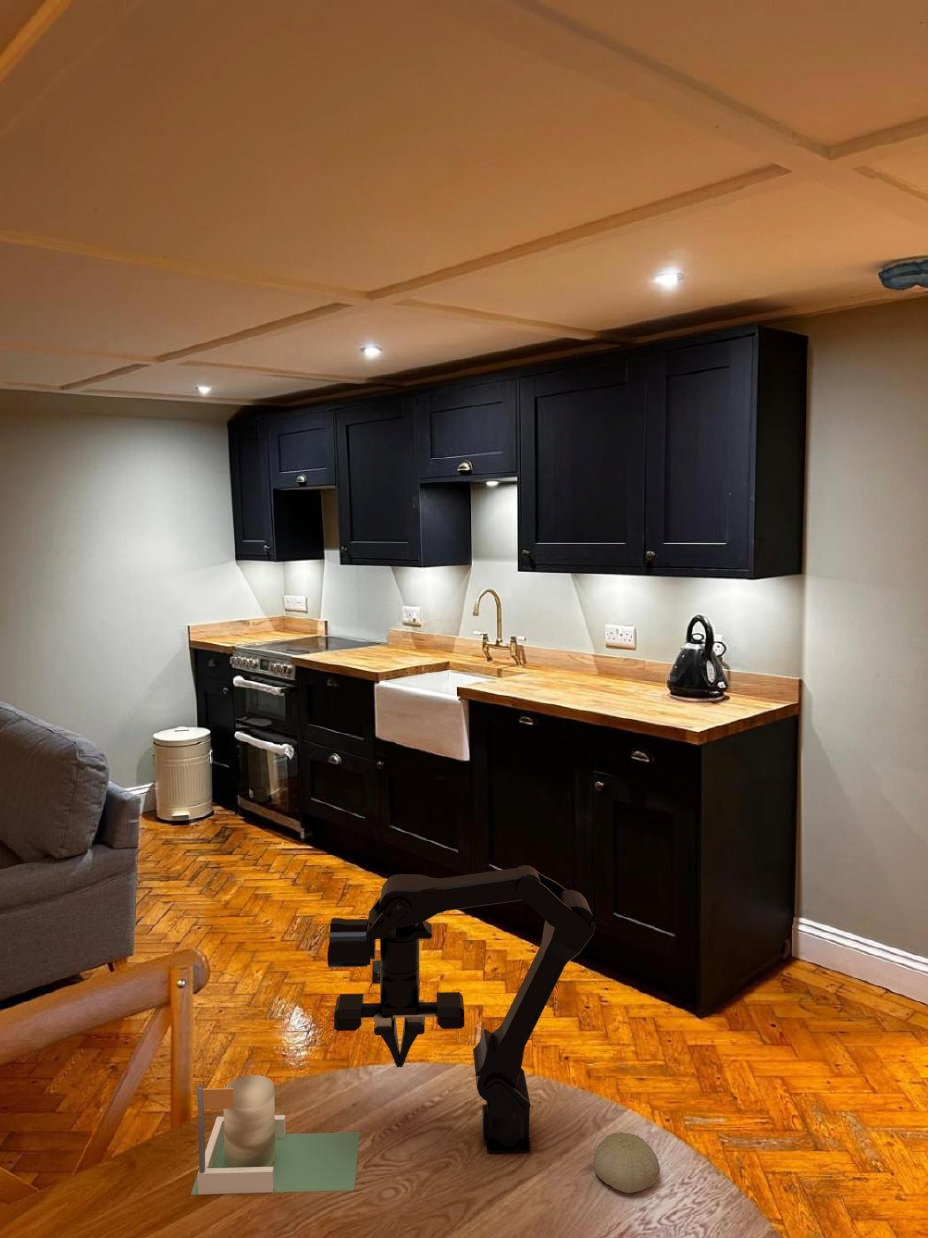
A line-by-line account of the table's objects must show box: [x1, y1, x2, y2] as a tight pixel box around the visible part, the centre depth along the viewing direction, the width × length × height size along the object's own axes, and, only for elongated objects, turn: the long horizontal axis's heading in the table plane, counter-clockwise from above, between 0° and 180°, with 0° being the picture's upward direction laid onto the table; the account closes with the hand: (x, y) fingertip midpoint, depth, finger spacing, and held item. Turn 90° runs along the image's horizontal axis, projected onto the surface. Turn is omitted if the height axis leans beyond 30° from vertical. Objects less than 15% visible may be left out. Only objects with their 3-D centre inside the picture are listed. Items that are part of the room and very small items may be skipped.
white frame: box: [196, 1085, 287, 1195], centre depth 130 cm, size 10×12×15 cm
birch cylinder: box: [223, 1074, 276, 1168], centre depth 131 cm, size 7×7×11 cm
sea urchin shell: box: [593, 1131, 661, 1194], centre depth 131 cm, size 9×8×8 cm
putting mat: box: [190, 1131, 361, 1196], centre depth 132 cm, size 22×12×1 cm, turn 93°
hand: (399, 1065), depth 136 cm, fingers closed
